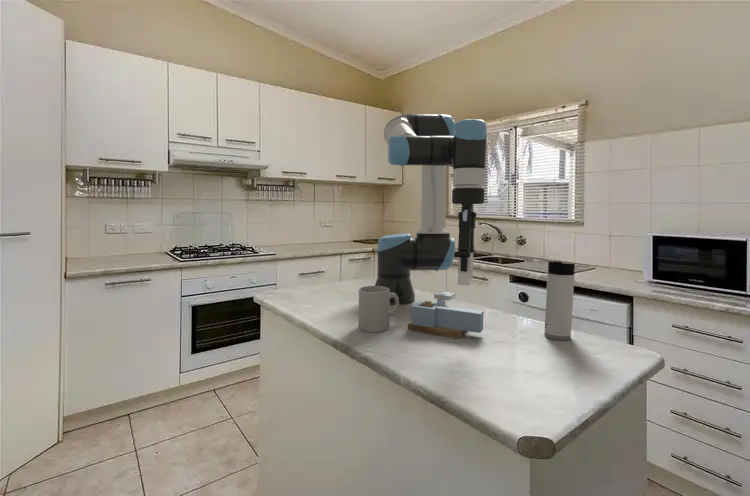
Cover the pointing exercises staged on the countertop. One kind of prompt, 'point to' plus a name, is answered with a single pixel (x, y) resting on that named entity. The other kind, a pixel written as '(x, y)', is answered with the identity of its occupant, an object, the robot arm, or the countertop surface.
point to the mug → (375, 308)
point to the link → (447, 317)
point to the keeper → (443, 297)
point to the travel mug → (559, 300)
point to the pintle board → (436, 328)
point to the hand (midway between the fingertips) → (465, 281)
